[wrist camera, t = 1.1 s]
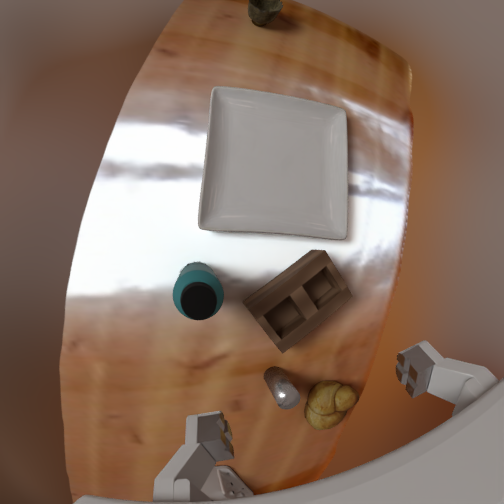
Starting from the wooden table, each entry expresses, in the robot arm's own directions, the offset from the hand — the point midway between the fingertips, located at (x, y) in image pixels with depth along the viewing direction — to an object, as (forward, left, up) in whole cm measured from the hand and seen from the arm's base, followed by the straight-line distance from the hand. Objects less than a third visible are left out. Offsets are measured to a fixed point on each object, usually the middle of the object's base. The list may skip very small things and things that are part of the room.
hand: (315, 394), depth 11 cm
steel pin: (-21, +4, -39) cm, 45 cm away
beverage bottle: (+3, +4, -40) cm, 40 cm away
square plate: (+12, -20, -40) cm, 46 cm away
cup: (+44, -39, -40) cm, 71 cm away
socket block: (-10, -8, -39) cm, 42 cm away
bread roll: (-34, 0, -40) cm, 53 cm away
